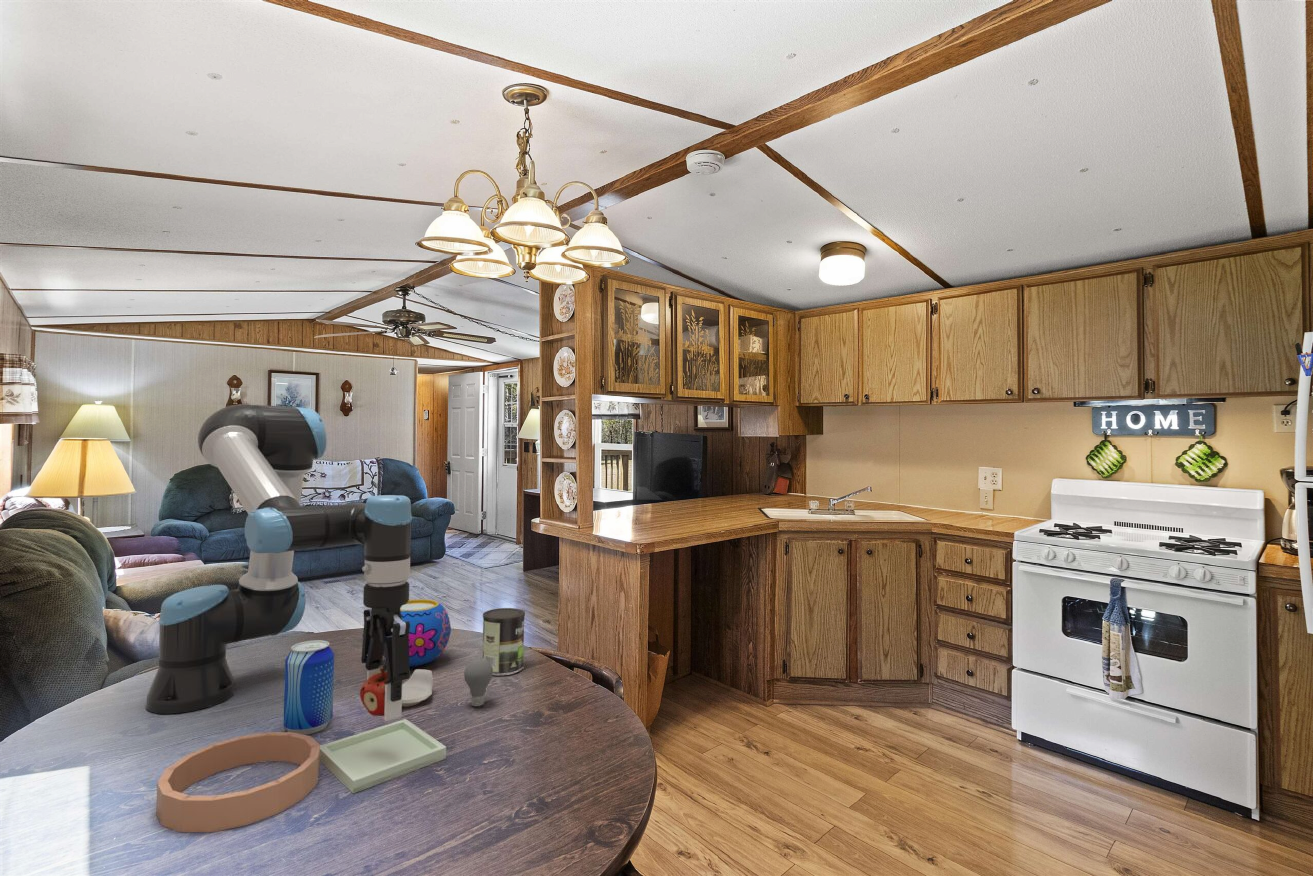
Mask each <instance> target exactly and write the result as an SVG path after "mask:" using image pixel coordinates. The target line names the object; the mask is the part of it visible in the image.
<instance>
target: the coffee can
mask: <svg viewBox="0 0 1313 876" xmlns="http://www.w3.org/2000/svg"><path fill="white" fill-rule="evenodd" d="M525 615H526V612H525V610H523V609H519V608H515V607H513V608H512V607H502V608H492V609H489V610H486V611H484V612H482V655H481V656H482V657H481V658H483V659H486V660H487V661H488V662H490V664H491V665H492V668H493V674H505V673H511V672H514V671H517V670H519V669H521V668H522V667H523V668H524V648H525V647H524V643H525V640H524V639H525Z"/></svg>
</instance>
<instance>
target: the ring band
mask: <svg viewBox="0 0 1313 876" xmlns="http://www.w3.org/2000/svg"><path fill="white" fill-rule="evenodd" d="M320 746H321V744H320V743H319V742H317V741H316V740H315V739H314V738H313V737H312V735H311V736H310V735H308V734H307V735H302V734H298V733H294V732H288V731H281V732H279V731H277V732H276V731H275V732H274V731H268V732H262V733H261V732H260V733H255V734H248V735H242V736H237V737H234V738H230V739H226V740H223V741H219V742H216V743H212V744H210V745H207V746H205V747H202V748H200V749H198V750H196V751H193V752H192V753H188V754H187V755H185V756H183V757H182V758H180V759H178V760H177V761H176V762H175V763H172V765H170V766H168V767H167V768H165V770H164V772H163V773H162V775H161V776H160V778H159V779H158V781H157V782H156V804H155V805H156V806H155V807H156V808H155V810H156V812H155V813H156V815H157V818H158V820H159V823H160V825H161V826H162V827H165V828H168V829H170V830H173V831H175V832H176V831H177V832H179V833H214V832H220V831H223V830H224V831H225V830H229V829H234V828H239V827H244V826H248V825H251V824H254V823H257V822H259V821H262V820H264V819H267V818H270V817H272V816H275V815H278V814H280V813H282V812H283V811H285V810H287V809H288V808H290V807H292V806H293V805H296V804H297V803H298V802H300V801H302V800H303V799H305V798H306V796H307V795H309V793H310V792H311V791H312V790H313V789H314V788H315V787H316V786H317V785H318V780H319V775H320V762H321V761H320ZM263 762H264V763H265V762H289V763H292V764H297V765H300V766H298V768H296V769H295V770H292V771H290V772H289V773H287V774H284V775H283V776H281V777H280V778H278V779H276V780H273V781H270V782H267V783H264V784H261V785H259V786H256V787H253V788H249V789H247V790H240V791H236V792H235V791H234V792H229V793H225V794H219V795H188V794H186V793H183V792H184V791H185V790H186V789H187V788H188V787H190V786H191V785H193V784H195V783H197V782H199V781H201V780H204V779H205V778H207V777H209V776H211V775H214V774H216V773H220V772H223V771H226V770H227V771H228V770H229V769H232V768H236V767H239V766H246V765H249V764H250V765H251V764H257V763H263Z"/></svg>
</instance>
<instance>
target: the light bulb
mask: <svg viewBox="0 0 1313 876" xmlns="http://www.w3.org/2000/svg"><path fill="white" fill-rule="evenodd" d="M463 674H464V675H463V676H464V680H465V682H466V684H467V686H468V688H469V692H470V695H471V706H474V707H476V706H478V707H481V706H482V705H484V704H485V694H486V693H487V688H488V685H489V683H490V682H491V680H492V678H493V676H492V675H493V668H492V665H491V664H490V662H488V661H487V660H486V659H483V658H482V657H480V658H474V659H472V660H470V662H469V663H468V664H467V665H466V667H465V668H464V672H463Z"/></svg>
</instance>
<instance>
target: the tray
mask: <svg viewBox="0 0 1313 876" xmlns="http://www.w3.org/2000/svg"><path fill="white" fill-rule="evenodd" d="M446 759H447V746H446V745H444V744H443V743H441V742H440V741H438V740H437V739H435V738H434V737H433V736H431V735H429V733H427V732H425V731H424V730H422V729H421V728H419V727H418V726H417V725H415V724H414V723H412V722H410V720H408V719H406V718H403V719H402V720H399V721H398V720H397V721H395V722H392V723H388V724H386V725H381V726H378V727H376V728H373V729H369V730H366V731H363V732H360V733H357V734H353V735H350V736H346V737H344V738H340V739H337V740H334V741H331V742H328V743H325V744H320V762H321V763H322V764H323V765H324V766H325V768H327V769H328V771H330V772H331V774H333V775H334V776H335V777H336V778H337V779H338V780H339V781H340V782H341V783H342V785H344V786H345V787H346V788H347V789H348V790H349V791H350V792H351V793H352V794H355V793H358V792H362V791H364V790H366V789H369V788H372V787H375V786H377V785H379V784H382V783H384V782H388V781H390V780H394V779H396V778H398V777H401V776H403V775H406V774H408V773H409V774H410V773H411V772H414V771H417V770H419V769H422V768H424V767H427V766H430V765H432V764H435V763H438V762H441V761H443V760H446Z"/></svg>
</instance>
